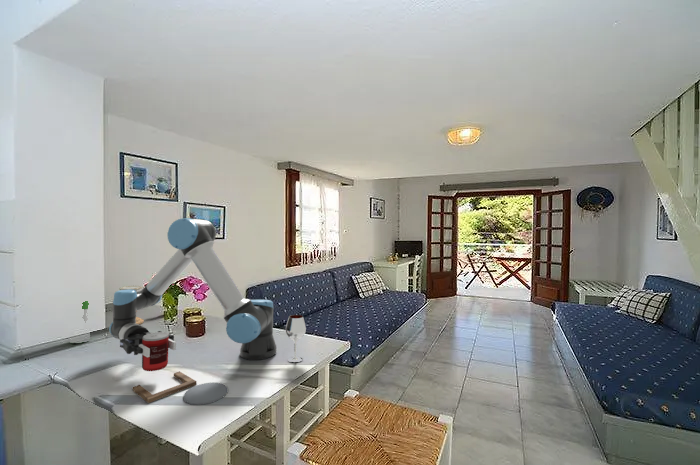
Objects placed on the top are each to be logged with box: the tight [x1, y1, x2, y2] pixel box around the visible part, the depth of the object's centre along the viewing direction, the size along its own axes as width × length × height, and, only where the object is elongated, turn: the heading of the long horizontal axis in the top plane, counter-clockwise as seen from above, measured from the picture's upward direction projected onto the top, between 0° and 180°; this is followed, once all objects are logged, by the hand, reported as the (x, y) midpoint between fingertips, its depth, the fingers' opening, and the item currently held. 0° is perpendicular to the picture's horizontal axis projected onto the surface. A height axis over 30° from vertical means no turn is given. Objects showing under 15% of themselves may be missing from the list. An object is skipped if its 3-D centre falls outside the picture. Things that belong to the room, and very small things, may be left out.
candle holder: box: [118, 285, 144, 325], centre depth 175 cm, size 12×12×20 cm
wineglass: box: [285, 314, 307, 360], centre depth 132 cm, size 8×8×18 cm
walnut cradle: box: [132, 371, 198, 404], centre depth 107 cm, size 12×15×1 cm
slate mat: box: [183, 382, 229, 406], centre depth 104 cm, size 13×13×1 cm
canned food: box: [141, 331, 169, 372], centre depth 111 cm, size 8×8×11 cm
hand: (161, 349), depth 108 cm, fingers closed on canned food, 8 cm apart
